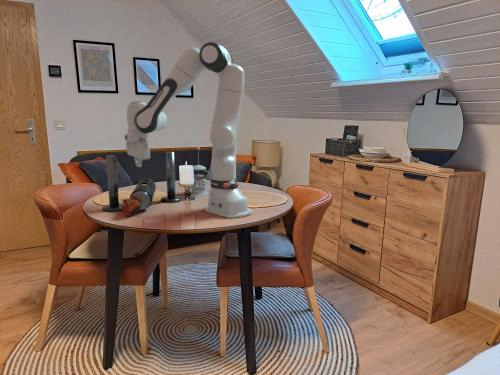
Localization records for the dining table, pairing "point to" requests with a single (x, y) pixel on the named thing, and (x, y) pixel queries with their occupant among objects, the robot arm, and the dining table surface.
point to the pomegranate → (131, 207)
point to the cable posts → (113, 183)
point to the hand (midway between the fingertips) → (138, 166)
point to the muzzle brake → (144, 193)
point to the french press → (199, 189)
